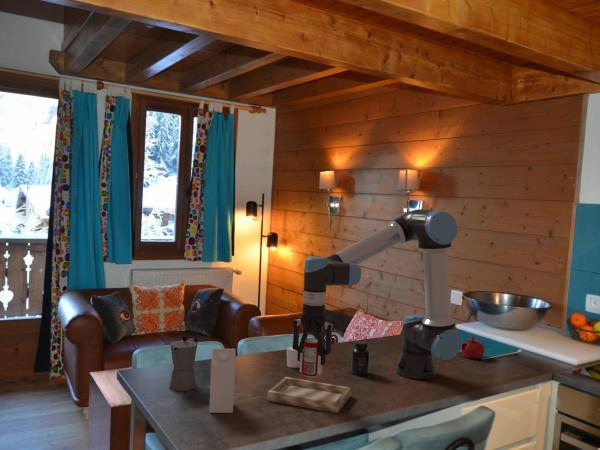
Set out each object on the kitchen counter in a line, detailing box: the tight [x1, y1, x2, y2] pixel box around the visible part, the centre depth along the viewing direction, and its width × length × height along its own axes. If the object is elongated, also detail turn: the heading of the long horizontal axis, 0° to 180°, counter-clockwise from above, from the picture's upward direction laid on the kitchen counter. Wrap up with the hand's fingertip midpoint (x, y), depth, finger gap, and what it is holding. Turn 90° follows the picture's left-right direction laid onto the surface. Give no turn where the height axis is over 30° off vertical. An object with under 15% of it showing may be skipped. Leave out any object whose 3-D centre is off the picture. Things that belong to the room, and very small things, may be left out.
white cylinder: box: [285, 345, 300, 369], centre depth 212 cm, size 7×7×7 cm
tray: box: [266, 376, 352, 414], centre depth 178 cm, size 24×16×3 cm, turn 70°
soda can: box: [301, 337, 320, 378], centre depth 177 cm, size 6×6×12 cm
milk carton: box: [208, 348, 236, 414], centre depth 165 cm, size 7×7×19 cm
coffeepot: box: [169, 334, 199, 392], centre depth 184 cm, size 15×9×18 cm, turn 162°
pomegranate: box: [460, 336, 485, 360], centre depth 234 cm, size 10×10×9 cm
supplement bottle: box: [350, 340, 370, 376], centre depth 206 cm, size 7×7×12 cm
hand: (310, 372), depth 177 cm, fingers closed on soda can, 5 cm apart
